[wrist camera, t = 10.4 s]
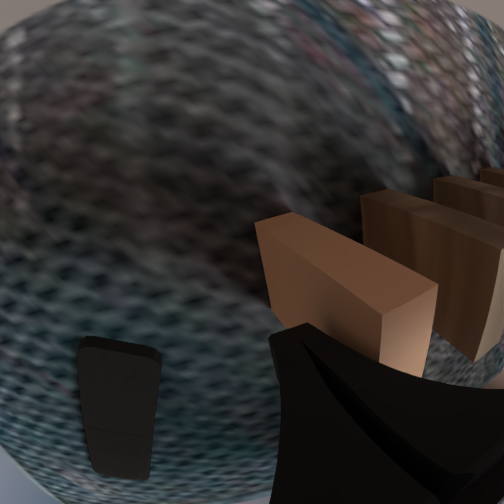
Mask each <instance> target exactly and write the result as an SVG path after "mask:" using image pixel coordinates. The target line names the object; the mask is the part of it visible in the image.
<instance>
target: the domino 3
mask: <svg viewBox="0 0 504 504" xmlns="http://www.w3.org/2000/svg"><path fill="white" fill-rule="evenodd" d="M433 202H434V203H437V204H440V205H443V206H446V207H449V208H452V209H455V210H458V211H461V212H464V213H467V214H470V215H473V216H475V217H478V218H481V219H484V220H486V221H489V222H492V223H494V224H497V225H499V226H502V227H504V188H501V187H497V186H494V185H490V184H486V183H482V182H478V181H474V180H470V179H466V178H462V177H457V176H453V175H448V176H444V177H439V178H434V179H433Z"/></svg>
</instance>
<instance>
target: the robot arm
mask: <svg viewBox="0 0 504 504" xmlns="http://www.w3.org/2000/svg"><path fill="white" fill-rule="evenodd" d="M268 340H269V344H270V349H271V353H272V358H273V362H274V367H275V371H276V375H277V379H278V381H279V384H280V397H281V426H280V441H279V451H278V459H277V467H276V473H275V478H274V483H273V488H272V493H271V498H270V502H269V504H504V389H481V388H471V387H463V386H456V385H450V384H446V383H441V382H437V381H432V380H428V379H424V378H421V377H417V376H414V375H411V374H408V373H405V372H402V371H399V370H396V369H394V368H391V367H389V366H386V365H384V364H382V363H380V362H377V361H375V360H373V359H371V358H369V357H367V356H365V355H363V354H361V353H359V352H357V351H355V350H353V349H352V348H350V347H348V346H346V345H344V344H342V343H341V342H339V341H337V340H336V339H334V338H332V337H331V336H329V335H327V334H326V333H324V332H323V331H321V330H319V329H318V328H316V327H315V326H313V325H311V324H310V323H308V322H306V323H303V324H301V325H298V326H295V327H292V328H289V329H286V330H283V331H280V332H277V333H274V334H271V335H270V337H269V338H268Z"/></svg>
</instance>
